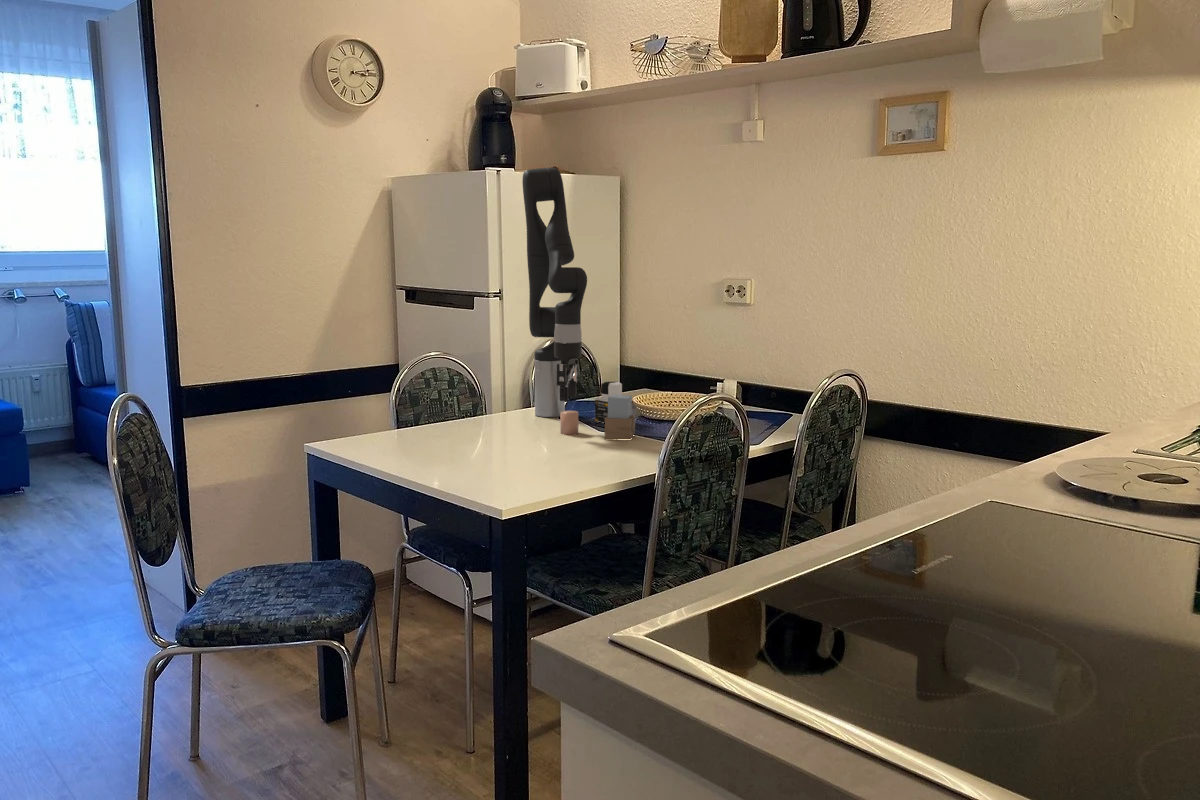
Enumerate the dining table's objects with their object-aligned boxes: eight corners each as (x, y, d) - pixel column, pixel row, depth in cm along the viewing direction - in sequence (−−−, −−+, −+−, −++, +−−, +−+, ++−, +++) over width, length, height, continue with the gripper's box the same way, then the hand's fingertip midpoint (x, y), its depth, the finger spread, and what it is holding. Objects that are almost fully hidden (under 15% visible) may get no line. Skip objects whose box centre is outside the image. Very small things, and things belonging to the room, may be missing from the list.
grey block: (611, 414, 261) (612, 394, 260) (631, 415, 260) (631, 395, 259) (607, 417, 256) (607, 397, 255) (627, 418, 255) (628, 398, 254)
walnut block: (610, 435, 263) (610, 413, 262) (634, 436, 261) (635, 414, 260) (604, 440, 256) (604, 418, 255) (630, 441, 255) (630, 419, 254)
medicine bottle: (594, 421, 282) (594, 382, 280) (612, 418, 286) (612, 379, 284) (610, 425, 276) (611, 384, 274) (628, 422, 281) (628, 382, 279)
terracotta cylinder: (563, 431, 268) (563, 410, 267) (580, 431, 267) (580, 411, 266) (558, 434, 263) (558, 413, 262) (575, 435, 262) (575, 414, 261)
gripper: (561, 338, 268) (561, 394, 271) (547, 342, 255) (547, 401, 257) (587, 338, 267) (587, 395, 269) (574, 342, 253) (574, 402, 255)
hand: (567, 398), depth 263 cm, fingers open, 8 cm apart
